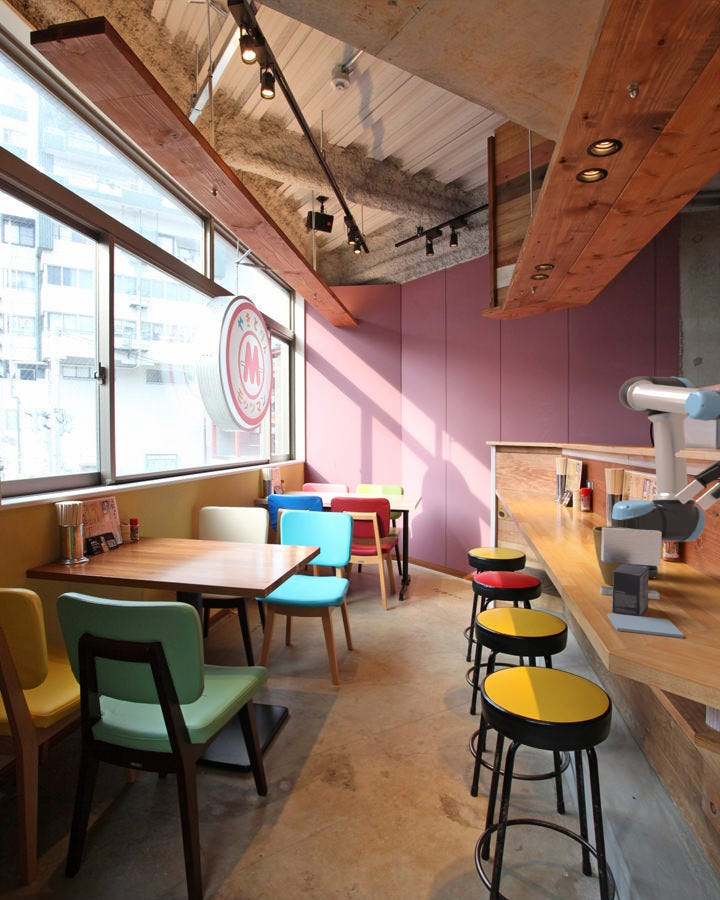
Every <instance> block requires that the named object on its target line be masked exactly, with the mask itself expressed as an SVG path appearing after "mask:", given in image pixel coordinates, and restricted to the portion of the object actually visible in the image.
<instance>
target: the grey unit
mask: <svg viewBox="0 0 720 900" xmlns="http://www.w3.org/2000/svg"><path fill="white" fill-rule="evenodd" d="M661 537H662V532H660V531H655V530H639V529H623V528H607V527H602V543H601V560H602V561H603V562H614V563H625V564H629V565H635V564H640V565H652V566H657V567H661V564H662V563H661V562H662V561H661V559H662V558H661V557H662V555H661V554H662V541H661ZM599 592H600V593H601V595H608V596H613V586H609V585H607V586H606V585H600V586H599ZM649 599H650V600H659V601H660V593H659V592H658V591H657V590H650V589H648V600H649Z"/></svg>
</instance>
